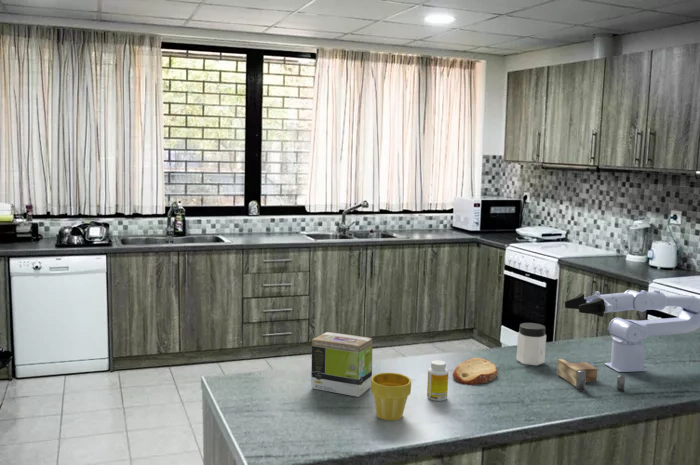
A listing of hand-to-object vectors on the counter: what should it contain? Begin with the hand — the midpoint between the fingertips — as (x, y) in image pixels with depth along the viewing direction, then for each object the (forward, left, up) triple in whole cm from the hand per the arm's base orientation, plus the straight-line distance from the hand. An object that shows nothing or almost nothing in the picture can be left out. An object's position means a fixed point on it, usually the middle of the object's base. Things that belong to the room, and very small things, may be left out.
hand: (572, 306), depth 204 cm
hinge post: (+4, +15, -21) cm, 26 cm away
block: (-2, +6, -21) cm, 22 cm away
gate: (+4, +8, -21) cm, 22 cm away
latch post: (-7, +17, -21) cm, 28 cm away
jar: (+7, -11, -21) cm, 25 cm away
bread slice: (+30, -2, -22) cm, 37 cm away
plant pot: (+64, +26, -21) cm, 72 cm away
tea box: (+73, +5, -21) cm, 76 cm away
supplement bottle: (+48, +16, -21) cm, 55 cm away
